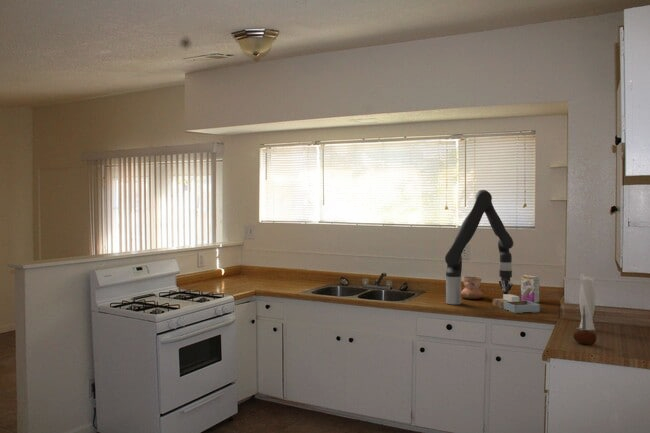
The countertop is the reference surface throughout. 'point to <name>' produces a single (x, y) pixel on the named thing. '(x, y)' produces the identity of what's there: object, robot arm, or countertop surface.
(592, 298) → the white statue
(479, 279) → the ceramic jug
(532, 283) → the candy bar box
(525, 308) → the tray
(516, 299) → the tile
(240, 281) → the countertop surface
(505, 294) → the tile
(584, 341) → the potato
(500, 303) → the board
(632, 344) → the countertop surface
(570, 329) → the countertop surface
